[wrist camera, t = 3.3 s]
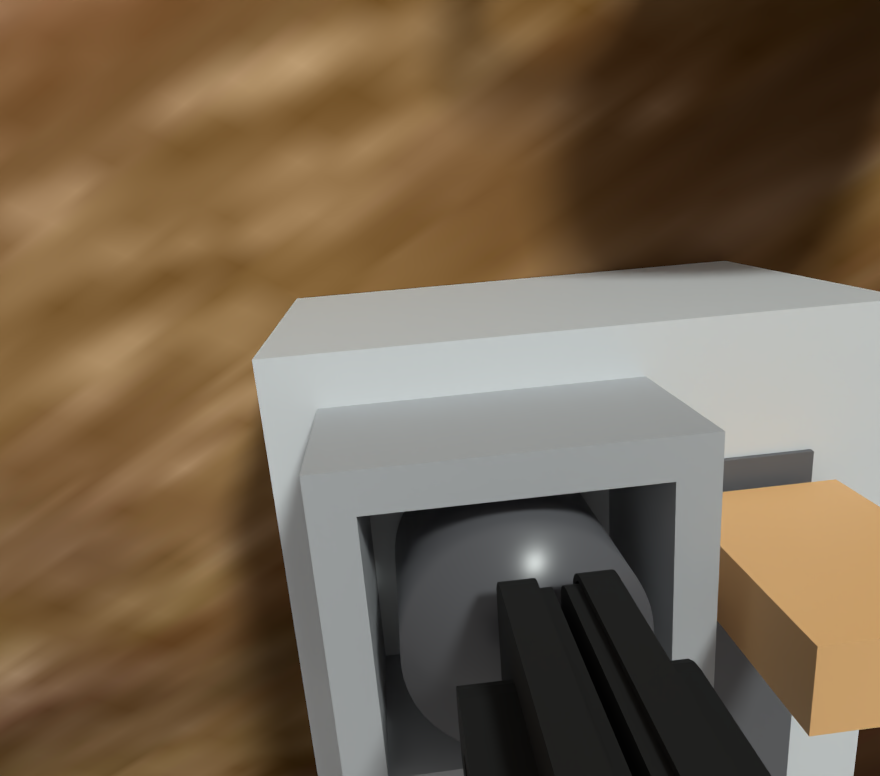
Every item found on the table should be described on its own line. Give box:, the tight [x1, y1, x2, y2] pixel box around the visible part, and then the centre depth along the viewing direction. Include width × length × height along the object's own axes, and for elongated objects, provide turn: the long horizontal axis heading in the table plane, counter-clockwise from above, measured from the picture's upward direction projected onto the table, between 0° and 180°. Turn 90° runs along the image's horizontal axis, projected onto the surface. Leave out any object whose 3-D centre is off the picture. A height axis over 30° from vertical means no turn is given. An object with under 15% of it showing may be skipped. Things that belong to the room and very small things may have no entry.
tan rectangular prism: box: [717, 479, 880, 736], centre depth 11 cm, size 3×1×4 cm, turn 94°
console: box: [252, 261, 880, 776], centre depth 17 cm, size 12×20×10 cm, turn 4°
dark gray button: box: [395, 492, 654, 741], centre depth 12 cm, size 4×4×3 cm
